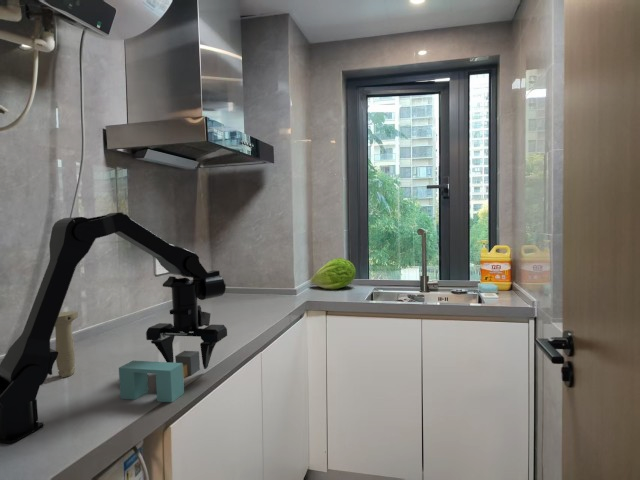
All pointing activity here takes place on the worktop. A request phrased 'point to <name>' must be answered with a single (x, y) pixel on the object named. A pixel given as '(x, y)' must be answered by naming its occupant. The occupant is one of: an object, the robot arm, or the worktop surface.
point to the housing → (137, 379)
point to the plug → (189, 362)
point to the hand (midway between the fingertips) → (188, 367)
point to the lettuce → (335, 274)
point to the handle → (65, 343)
